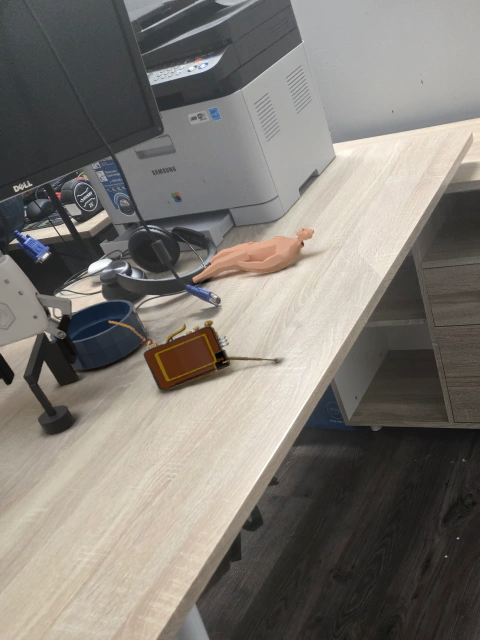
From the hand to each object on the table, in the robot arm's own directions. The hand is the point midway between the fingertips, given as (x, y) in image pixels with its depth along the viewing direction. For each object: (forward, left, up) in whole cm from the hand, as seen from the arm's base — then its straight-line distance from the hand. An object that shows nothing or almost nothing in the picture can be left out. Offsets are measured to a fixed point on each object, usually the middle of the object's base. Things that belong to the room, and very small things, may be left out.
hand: (42, 370), depth 96 cm
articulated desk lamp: (0, 0, -6) cm, 6 cm away
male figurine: (+35, +31, -6) cm, 47 cm away
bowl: (+6, +15, -6) cm, 17 cm away
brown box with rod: (+24, -6, -6) cm, 25 cm away
